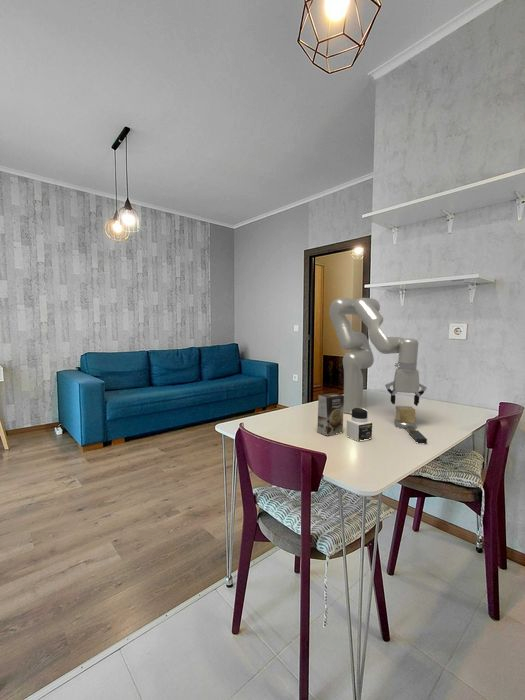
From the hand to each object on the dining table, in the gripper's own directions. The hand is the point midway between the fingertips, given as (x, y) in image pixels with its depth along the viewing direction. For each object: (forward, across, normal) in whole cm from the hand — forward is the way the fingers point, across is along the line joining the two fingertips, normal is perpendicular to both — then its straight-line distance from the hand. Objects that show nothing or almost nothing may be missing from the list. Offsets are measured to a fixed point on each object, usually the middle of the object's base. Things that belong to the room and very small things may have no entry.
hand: (404, 404), depth 149 cm
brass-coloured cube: (+7, +1, -1) cm, 8 cm away
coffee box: (+10, -33, -15) cm, 38 cm away
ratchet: (+10, +1, -10) cm, 14 cm away
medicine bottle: (+10, -22, -20) cm, 32 cm away
